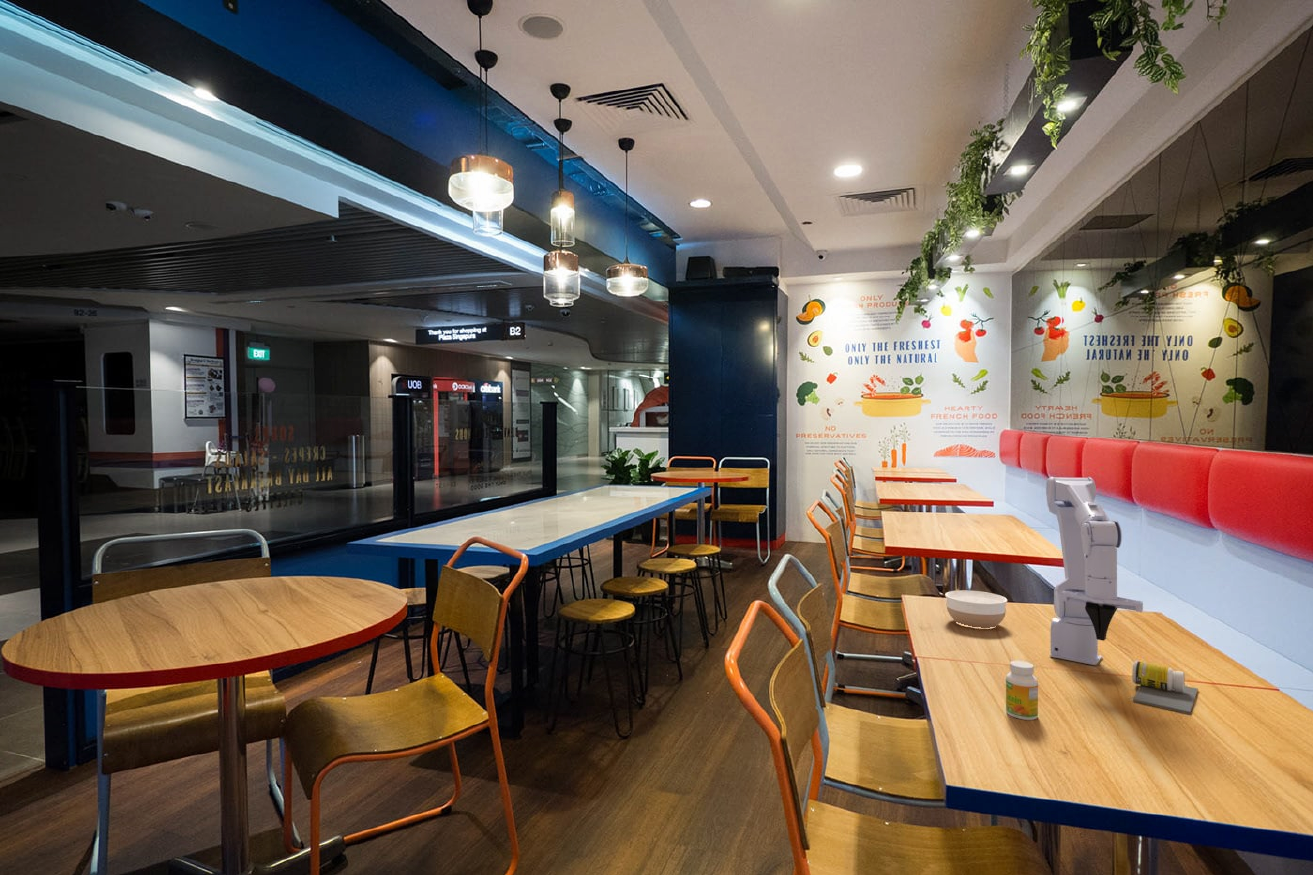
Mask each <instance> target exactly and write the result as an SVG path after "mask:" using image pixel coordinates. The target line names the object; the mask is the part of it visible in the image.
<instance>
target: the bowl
mask: <svg viewBox="0 0 1313 875" xmlns="http://www.w3.org/2000/svg"><path fill="white" fill-rule="evenodd" d="M944 596H945V598H946V609H947V610H946V611H947V613H948V614H949V616H950V617H951V618H952V620H954V622H955V621H956V622H958V623H961V624H964V625H968V626H972V627H981V628H990V627H995V626H997V627H998V625H1000V623H1002V622H1003V620H1004V618H1005V617H1006V612H1007V607H1006V605H1007V603H1008V599H1007V598H1006V597H1005V596H1004V595H1003V596H1002V595H1000V594H997V593H992V592H986V591H981V590H967V589H965V590H962V589H960V590H950V591H948V592H945V594H944Z"/></svg>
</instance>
